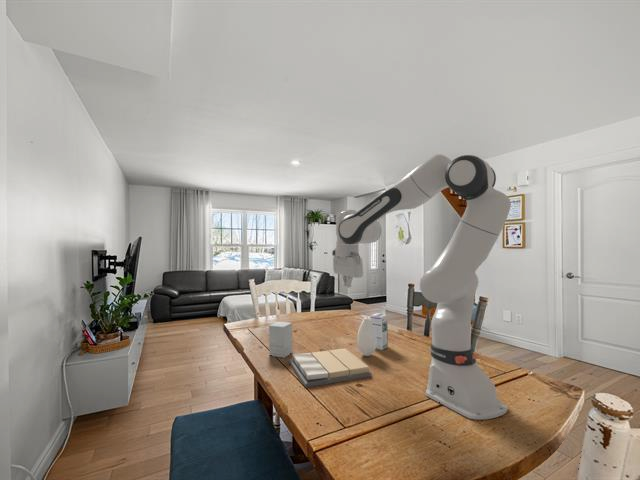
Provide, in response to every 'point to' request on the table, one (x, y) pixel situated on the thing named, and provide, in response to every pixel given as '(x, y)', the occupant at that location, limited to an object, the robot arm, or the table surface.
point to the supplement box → (280, 339)
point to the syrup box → (380, 330)
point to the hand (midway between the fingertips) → (347, 287)
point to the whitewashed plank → (309, 366)
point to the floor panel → (324, 380)
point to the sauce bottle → (366, 337)
